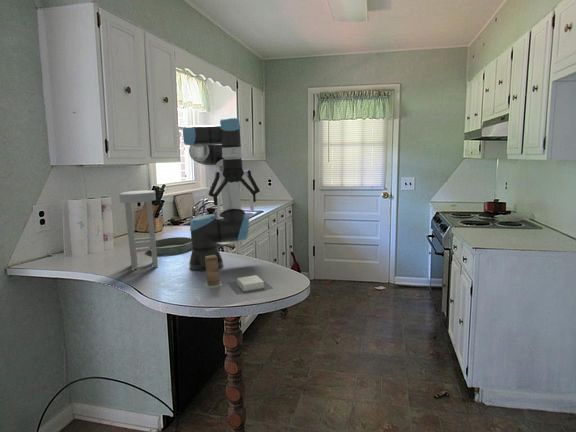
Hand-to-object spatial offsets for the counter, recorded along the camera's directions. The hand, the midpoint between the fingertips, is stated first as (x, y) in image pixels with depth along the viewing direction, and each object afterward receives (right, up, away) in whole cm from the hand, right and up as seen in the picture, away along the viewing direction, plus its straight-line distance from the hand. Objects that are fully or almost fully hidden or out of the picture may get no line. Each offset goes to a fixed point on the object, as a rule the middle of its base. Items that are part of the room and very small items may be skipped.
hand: (235, 211), depth 166 cm
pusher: (-8, -28, -4) cm, 30 cm away
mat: (+6, -29, -7) cm, 30 cm away
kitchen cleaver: (-15, -18, +67) cm, 71 cm away
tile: (+5, -27, -4) cm, 27 cm away
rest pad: (-8, -29, -4) cm, 31 cm away
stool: (-47, -25, +30) cm, 61 cm away
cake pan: (-43, -20, +60) cm, 76 cm away
